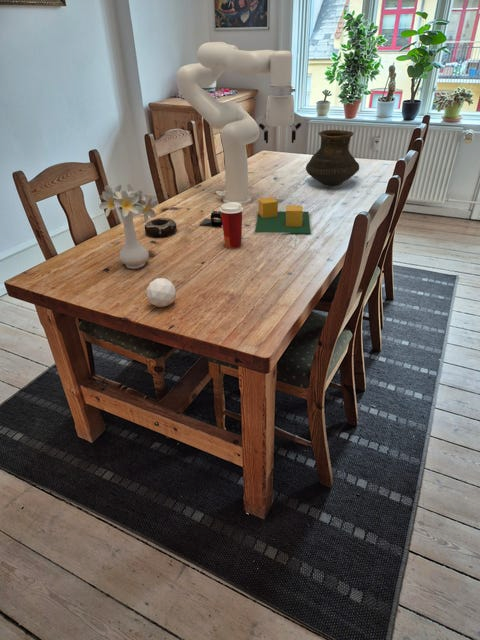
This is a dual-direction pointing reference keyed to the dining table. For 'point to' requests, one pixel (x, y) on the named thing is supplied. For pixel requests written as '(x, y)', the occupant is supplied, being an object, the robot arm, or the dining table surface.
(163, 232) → the donut
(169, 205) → the dining table surface
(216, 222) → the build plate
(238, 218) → the paper cup
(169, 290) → the geometric ball
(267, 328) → the dining table surface
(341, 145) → the ceramic pot
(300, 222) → the yellow block
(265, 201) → the yellow block
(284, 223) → the towel
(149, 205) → the flower vase
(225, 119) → the robot arm
